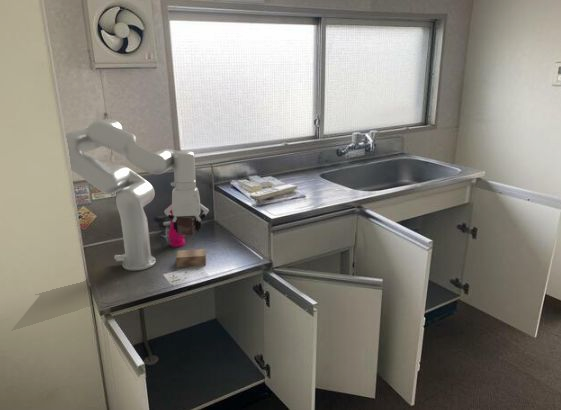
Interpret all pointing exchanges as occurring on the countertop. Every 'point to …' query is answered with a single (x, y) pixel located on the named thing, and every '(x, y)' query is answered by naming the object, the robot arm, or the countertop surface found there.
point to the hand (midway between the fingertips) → (187, 230)
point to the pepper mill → (175, 236)
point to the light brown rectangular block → (191, 258)
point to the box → (186, 225)
